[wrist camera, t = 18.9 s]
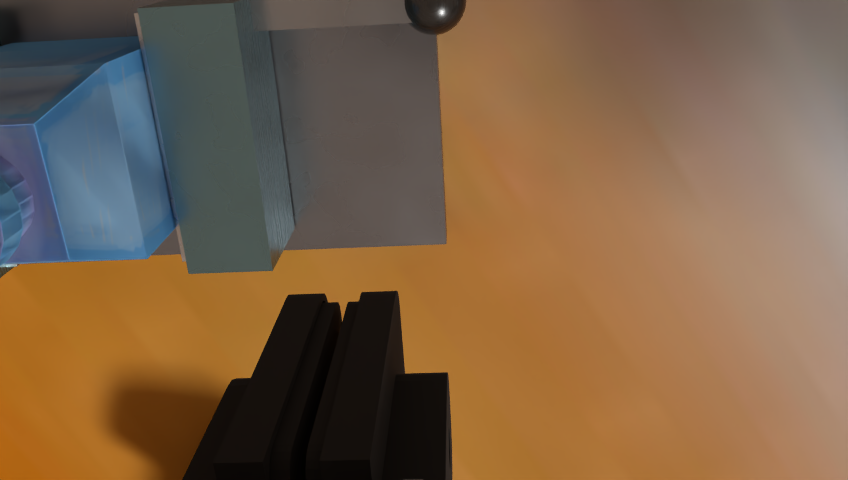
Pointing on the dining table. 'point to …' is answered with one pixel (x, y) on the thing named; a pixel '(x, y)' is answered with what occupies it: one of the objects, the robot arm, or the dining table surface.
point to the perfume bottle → (79, 154)
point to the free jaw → (239, 114)
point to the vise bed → (318, 121)
